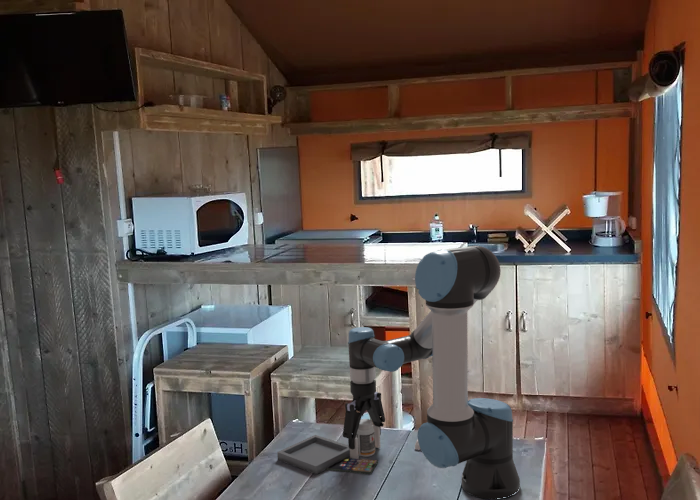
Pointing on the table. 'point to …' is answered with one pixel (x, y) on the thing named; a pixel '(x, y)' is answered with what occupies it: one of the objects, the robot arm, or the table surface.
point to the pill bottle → (365, 438)
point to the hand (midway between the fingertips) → (365, 452)
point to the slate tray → (314, 454)
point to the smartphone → (354, 466)
